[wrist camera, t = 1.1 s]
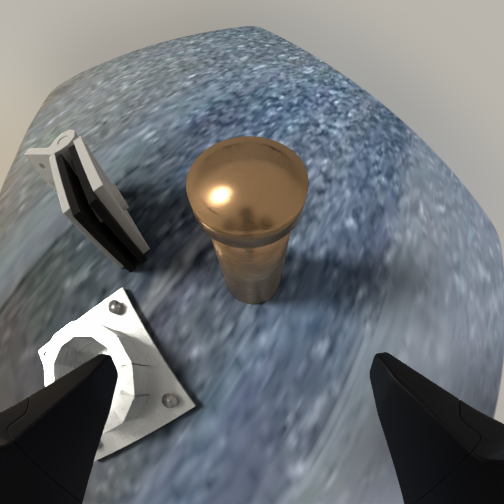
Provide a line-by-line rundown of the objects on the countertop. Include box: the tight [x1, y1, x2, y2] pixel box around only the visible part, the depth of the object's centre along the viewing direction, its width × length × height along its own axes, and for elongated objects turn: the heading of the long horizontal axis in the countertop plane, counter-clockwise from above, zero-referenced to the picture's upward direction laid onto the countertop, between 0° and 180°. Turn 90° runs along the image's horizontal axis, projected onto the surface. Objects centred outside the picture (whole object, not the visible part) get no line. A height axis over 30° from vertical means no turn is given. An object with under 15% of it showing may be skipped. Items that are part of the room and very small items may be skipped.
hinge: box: [25, 130, 150, 272], centre depth 22 cm, size 14×5×10 cm, turn 51°
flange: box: [39, 287, 197, 461], centre depth 18 cm, size 12×12×4 cm
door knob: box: [186, 136, 309, 304], centre depth 18 cm, size 5×5×13 cm
